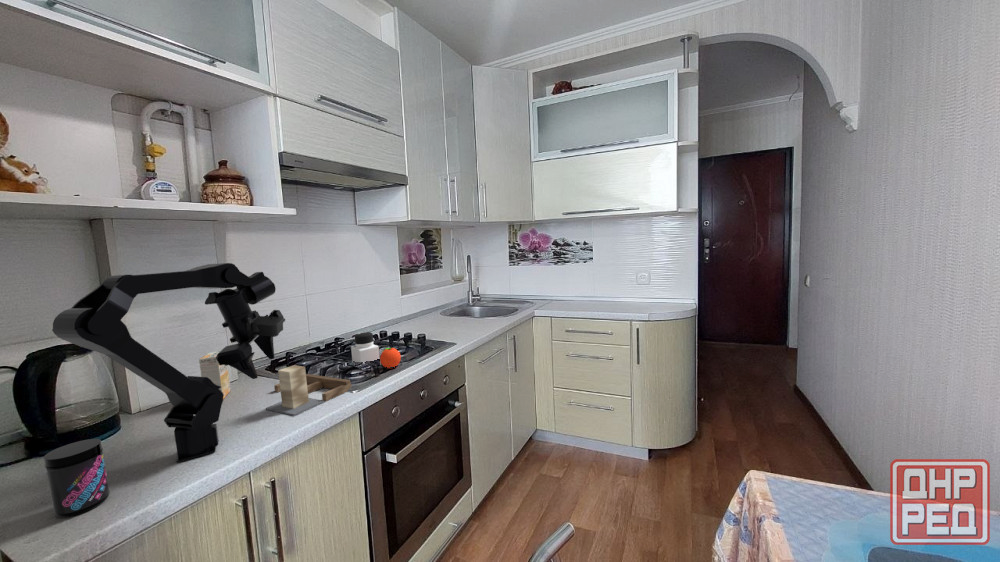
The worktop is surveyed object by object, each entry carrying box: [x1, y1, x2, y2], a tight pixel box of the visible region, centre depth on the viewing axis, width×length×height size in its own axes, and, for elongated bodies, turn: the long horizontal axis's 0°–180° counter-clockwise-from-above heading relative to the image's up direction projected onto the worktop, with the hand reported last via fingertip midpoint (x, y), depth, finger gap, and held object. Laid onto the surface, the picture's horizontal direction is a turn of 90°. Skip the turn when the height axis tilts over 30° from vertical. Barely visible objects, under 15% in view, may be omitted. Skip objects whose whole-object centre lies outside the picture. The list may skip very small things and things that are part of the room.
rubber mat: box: [265, 397, 326, 417], centre depth 106 cm, size 9×12×1 cm
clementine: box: [380, 347, 402, 369], centre depth 135 cm, size 8×7×7 cm
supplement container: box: [43, 438, 111, 518], centre depth 67 cm, size 7×7×10 cm
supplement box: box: [198, 350, 231, 400], centre depth 116 cm, size 8×5×13 cm, turn 22°
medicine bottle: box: [350, 331, 381, 362], centre depth 138 cm, size 7×7×12 cm
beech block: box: [277, 364, 310, 409], centre depth 106 cm, size 5×5×10 cm
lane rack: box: [274, 373, 353, 402], centre depth 117 cm, size 9×22×3 cm, turn 63°
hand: (264, 368), depth 99 cm, fingers open, 9 cm apart
